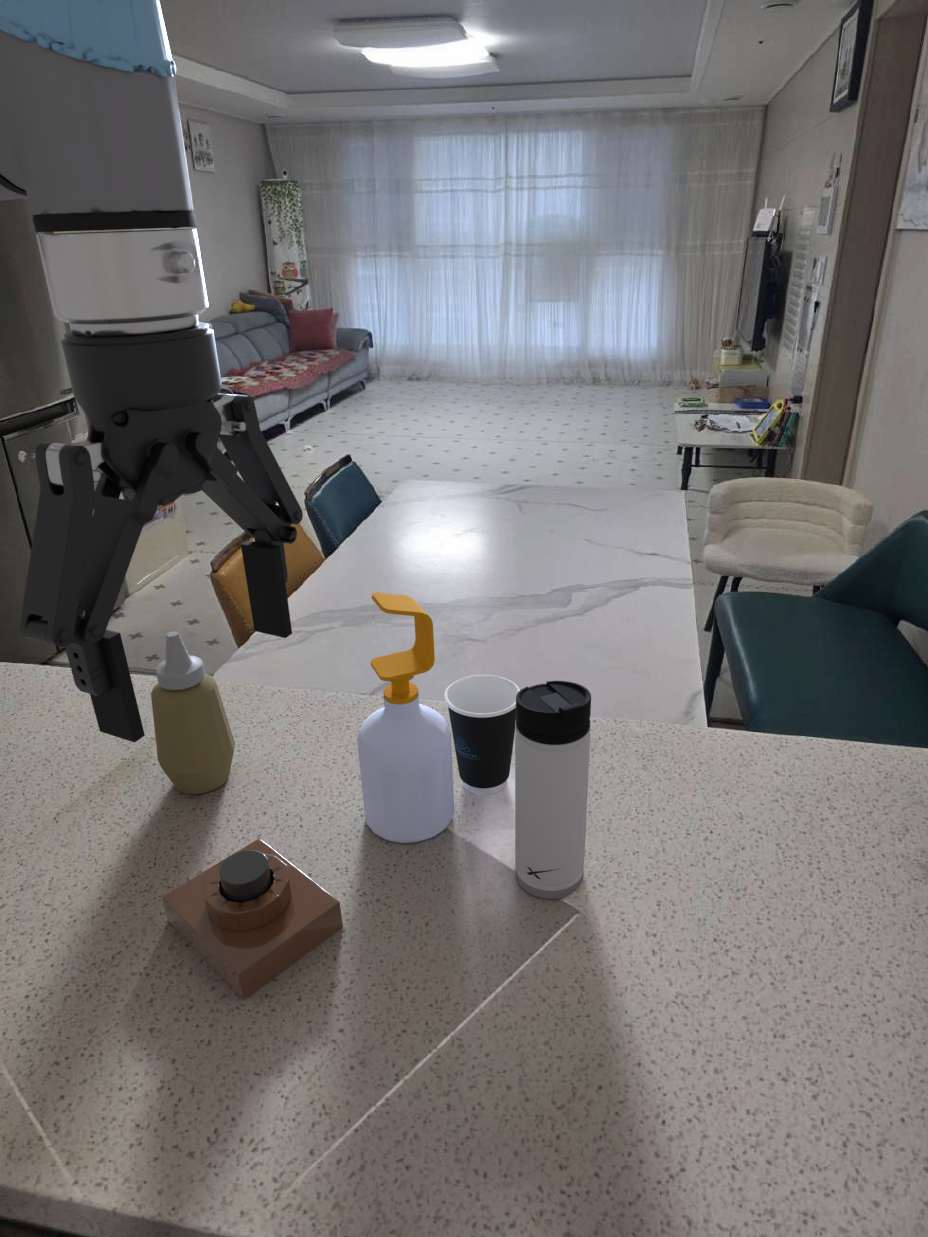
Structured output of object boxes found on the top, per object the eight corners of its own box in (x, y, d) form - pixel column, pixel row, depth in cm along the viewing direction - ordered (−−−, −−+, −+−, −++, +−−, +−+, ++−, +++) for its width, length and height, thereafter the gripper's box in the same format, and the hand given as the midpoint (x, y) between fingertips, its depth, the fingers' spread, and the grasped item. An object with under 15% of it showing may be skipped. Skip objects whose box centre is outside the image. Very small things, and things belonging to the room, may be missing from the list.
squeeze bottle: (183, 813, 85) (149, 661, 77) (152, 778, 91) (117, 633, 83) (253, 779, 90) (228, 634, 82) (219, 748, 96) (193, 609, 88)
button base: (167, 922, 72) (156, 879, 70) (263, 862, 79) (256, 820, 76) (244, 1001, 65) (234, 955, 62) (343, 927, 71) (338, 883, 69)
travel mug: (537, 912, 72) (539, 720, 63) (503, 864, 77) (502, 680, 69) (598, 890, 74) (609, 700, 65) (561, 844, 80) (567, 664, 71)
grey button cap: (213, 886, 70) (209, 868, 69) (254, 861, 72) (250, 843, 71) (240, 910, 67) (236, 891, 66) (280, 883, 70) (277, 865, 69)
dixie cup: (525, 762, 92) (526, 677, 87) (516, 808, 85) (516, 717, 80) (455, 756, 93) (452, 671, 88) (440, 800, 86) (436, 711, 81)
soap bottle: (354, 801, 86) (331, 588, 75) (435, 778, 89) (423, 570, 79) (380, 856, 79) (359, 627, 68) (468, 829, 82) (460, 606, 71)
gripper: (-42, 365, 31) (88, 810, 40) (334, 300, 51) (362, 609, 60) (-158, 357, 34) (-13, 772, 44) (239, 298, 54) (280, 592, 63)
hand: (205, 678), depth 52 cm, fingers open, 13 cm apart
